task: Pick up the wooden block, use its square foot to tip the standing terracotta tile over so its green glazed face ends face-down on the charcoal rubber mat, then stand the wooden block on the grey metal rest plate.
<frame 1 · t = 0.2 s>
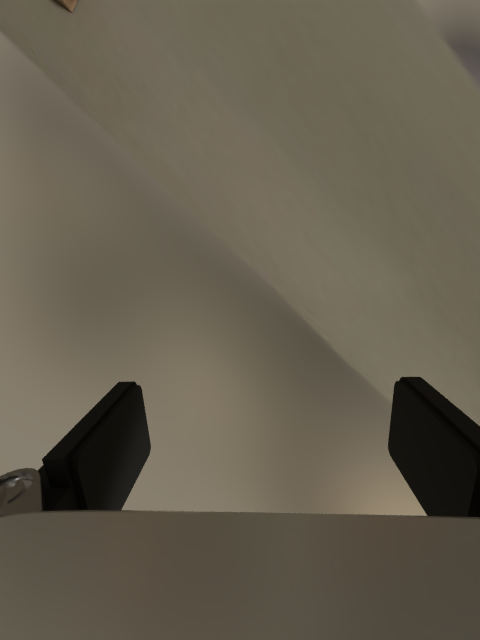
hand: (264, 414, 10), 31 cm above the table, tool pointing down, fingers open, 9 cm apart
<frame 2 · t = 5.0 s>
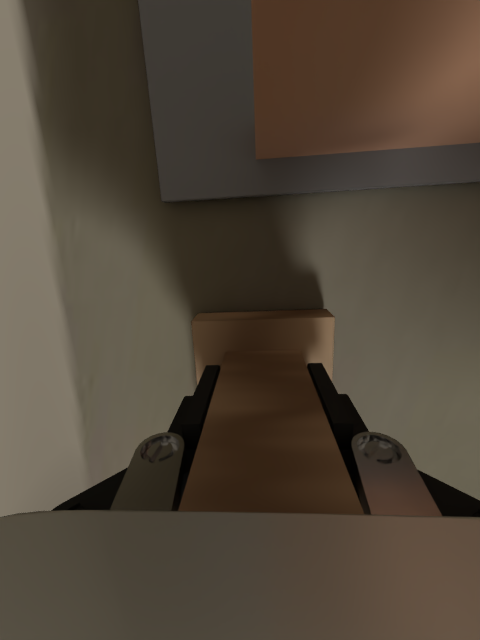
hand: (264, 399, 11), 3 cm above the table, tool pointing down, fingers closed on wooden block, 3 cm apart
tile: (387, 128, 11), resting on mat
wooden block: (263, 369, 14), on the table, touching gripper
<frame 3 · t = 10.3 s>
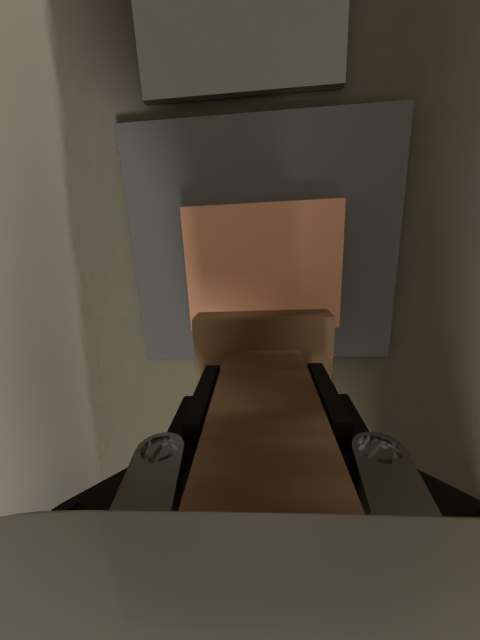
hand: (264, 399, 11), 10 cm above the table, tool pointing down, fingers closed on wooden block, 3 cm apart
tile: (263, 326, 20), point 1 cm above the table, tilted 90°, touching mat
mat: (261, 248, 19), on the table
wooden block: (263, 369, 14), point 7 cm above the table, touching gripper
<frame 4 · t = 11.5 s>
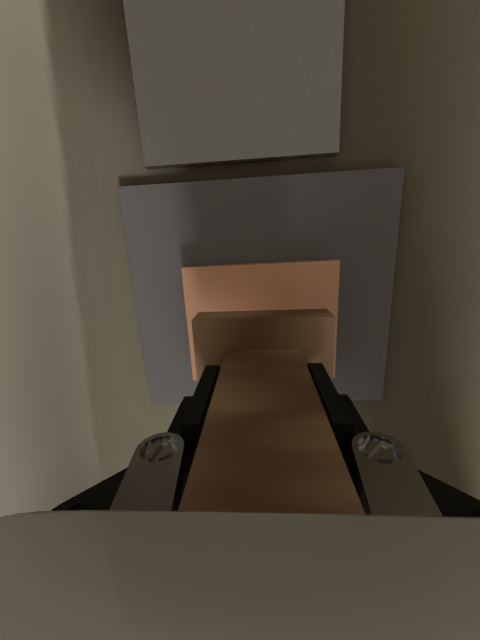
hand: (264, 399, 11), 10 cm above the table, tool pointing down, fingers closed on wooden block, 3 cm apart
tile: (262, 374, 20), point 1 cm above the table, tilted 90°, touching mat
rest plate: (235, 67, 16), on the table
mat: (260, 300, 20), on the table
wooden block: (263, 368, 14), point 7 cm above the table, touching gripper
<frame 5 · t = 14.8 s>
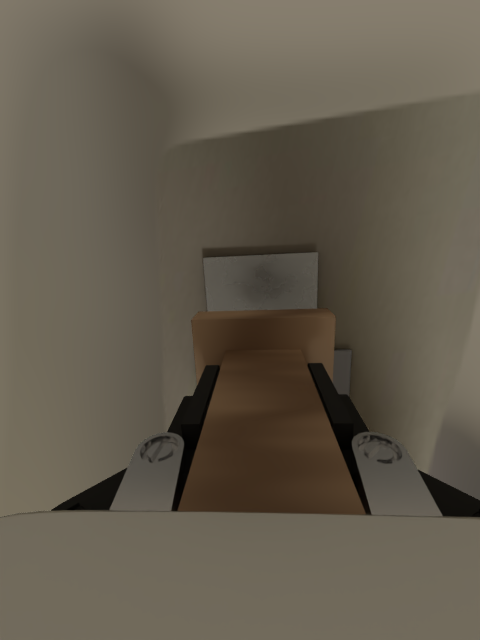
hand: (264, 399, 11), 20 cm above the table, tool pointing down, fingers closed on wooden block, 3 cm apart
rest plate: (261, 300, 31), on the table
mat: (272, 411, 35), on the table
wooden block: (263, 368, 14), point 18 cm above the table, touching gripper
when the fingers open (4 cm above the table, at t = 17.8 s): wooden block stays where it is, resting on rest plate.
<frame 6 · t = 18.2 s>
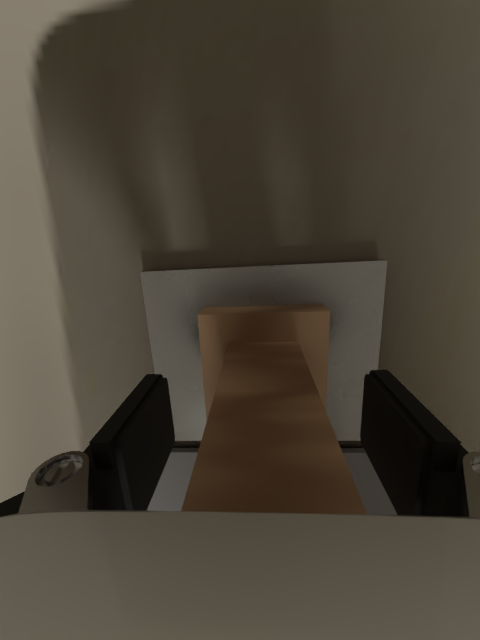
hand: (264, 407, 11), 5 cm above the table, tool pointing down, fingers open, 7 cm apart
rest plate: (262, 356, 15), on the table
mat: (283, 546, 19), on the table
wooden block: (263, 360, 15), point 1 cm above the table, touching rest plate
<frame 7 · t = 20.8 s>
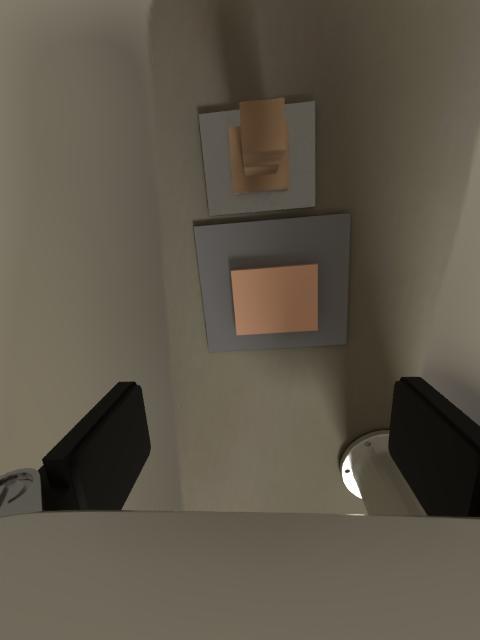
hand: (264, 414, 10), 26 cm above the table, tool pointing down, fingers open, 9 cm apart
tile: (276, 330, 35), point 1 cm above the table, tilted 90°, touching mat
rest plate: (258, 163, 31), on the table
mat: (273, 288, 35), on the table
wooden block: (259, 161, 30), point 1 cm above the table, touching rest plate
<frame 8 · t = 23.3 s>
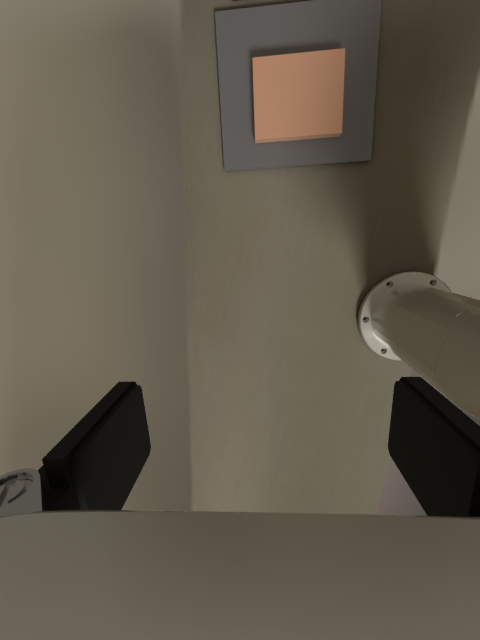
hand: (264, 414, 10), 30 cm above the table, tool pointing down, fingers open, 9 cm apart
tile: (297, 138, 33), point 1 cm above the table, tilted 90°, touching mat
mat: (296, 90, 33), on the table
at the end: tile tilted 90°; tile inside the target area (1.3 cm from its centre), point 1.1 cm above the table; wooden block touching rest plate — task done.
